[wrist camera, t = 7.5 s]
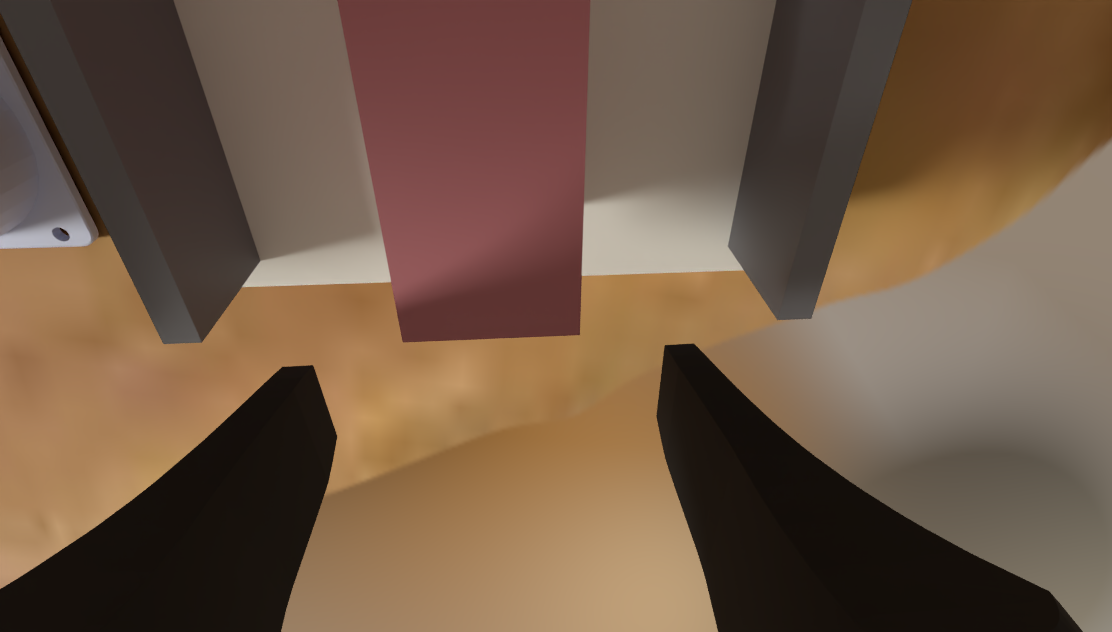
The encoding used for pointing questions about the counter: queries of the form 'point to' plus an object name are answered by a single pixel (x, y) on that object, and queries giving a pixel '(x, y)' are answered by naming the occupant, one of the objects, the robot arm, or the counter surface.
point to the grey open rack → (342, 165)
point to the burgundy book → (476, 159)
